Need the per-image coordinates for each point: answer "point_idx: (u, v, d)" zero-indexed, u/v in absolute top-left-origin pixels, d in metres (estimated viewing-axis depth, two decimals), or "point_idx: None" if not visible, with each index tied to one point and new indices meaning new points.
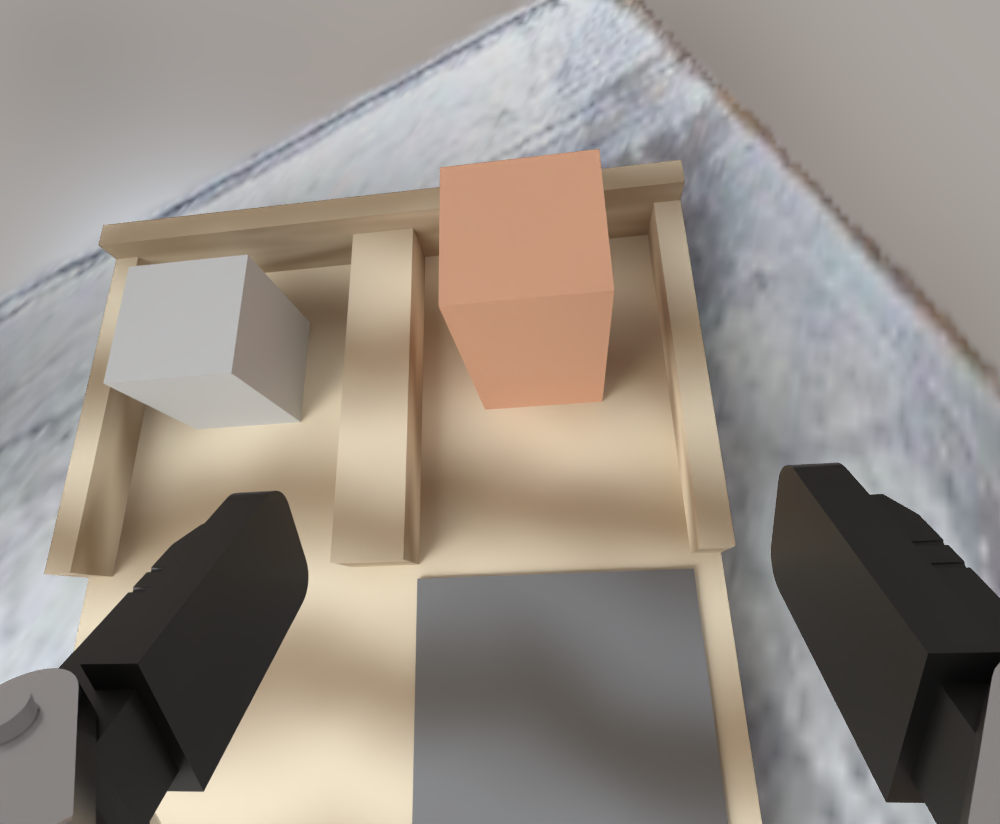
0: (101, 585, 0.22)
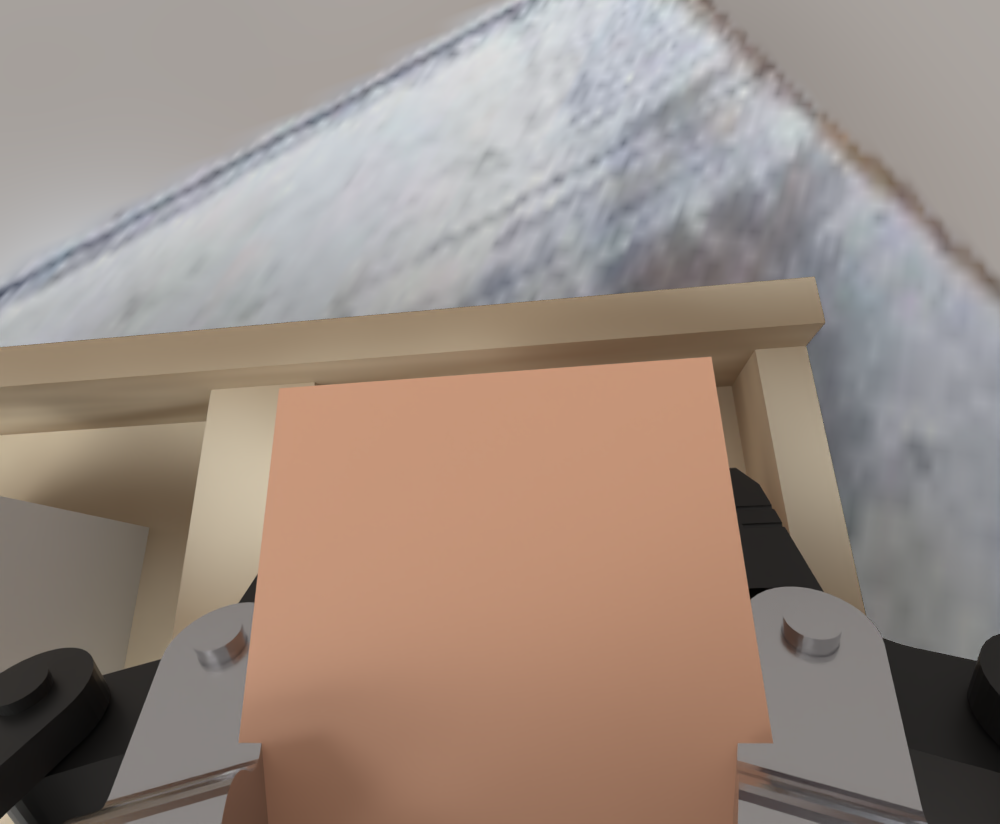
0: None
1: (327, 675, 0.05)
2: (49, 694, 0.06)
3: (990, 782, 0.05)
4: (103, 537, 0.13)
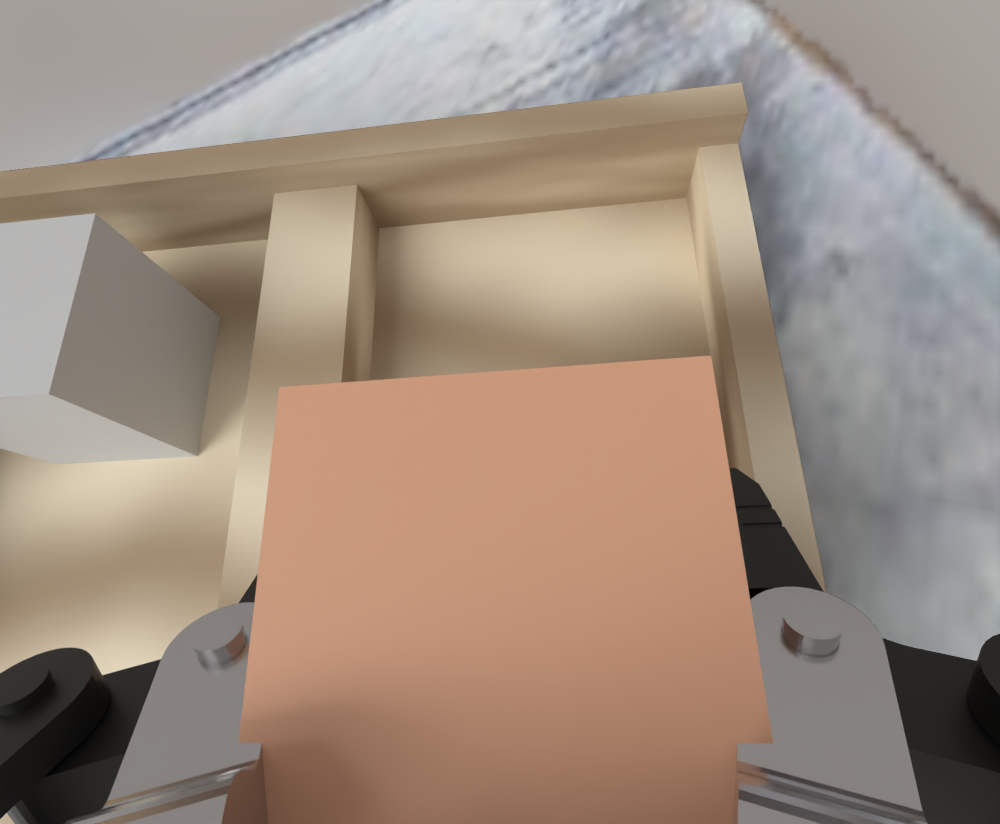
0: None
1: (327, 673, 0.05)
2: (49, 694, 0.06)
3: (990, 782, 0.05)
4: (190, 307, 0.17)
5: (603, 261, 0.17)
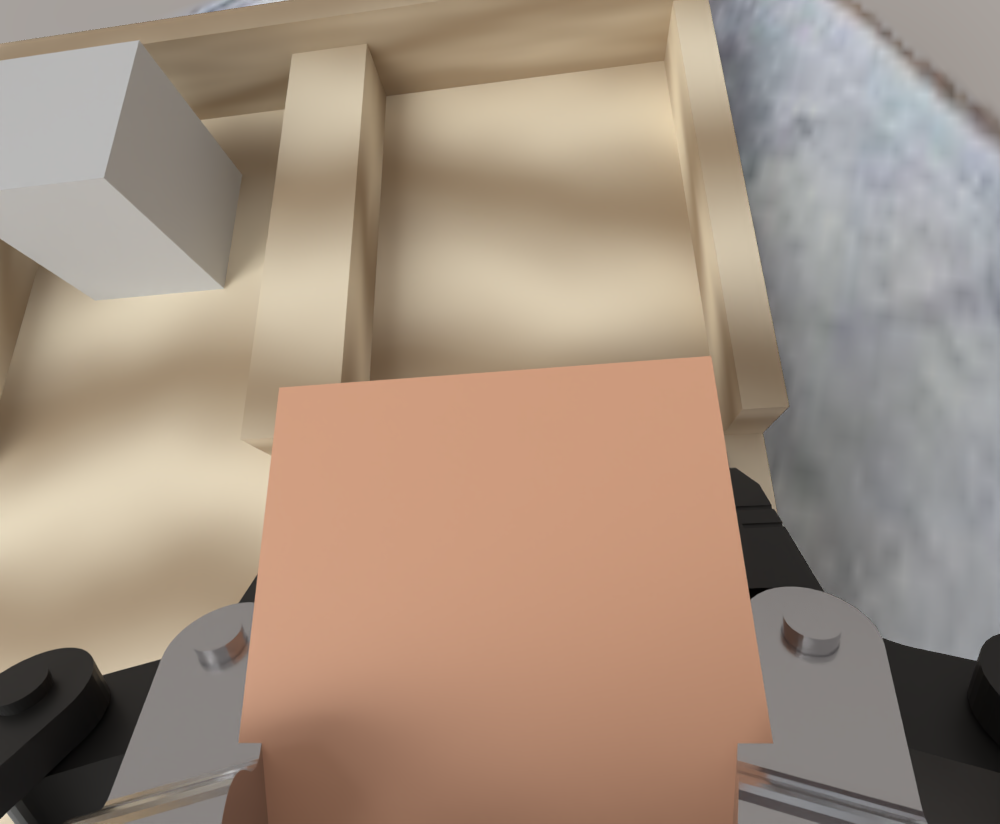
0: None
1: (327, 674, 0.05)
2: (49, 695, 0.06)
3: (990, 782, 0.05)
4: (216, 154, 0.19)
5: (589, 115, 0.19)
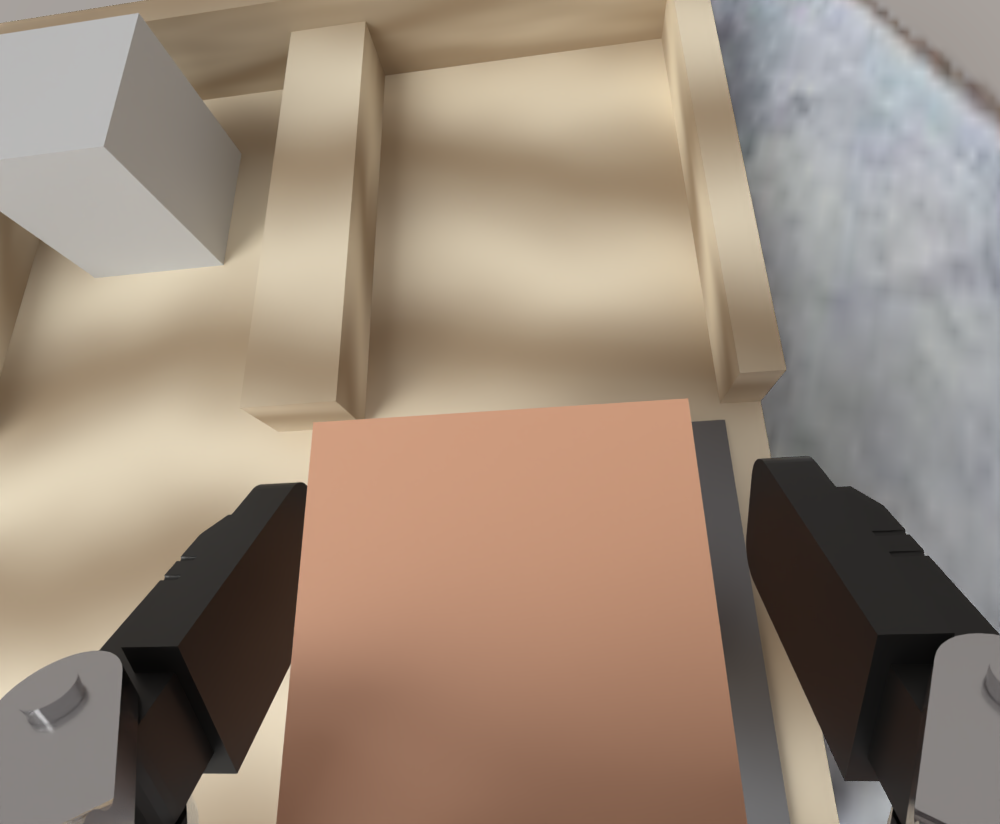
0: None
1: (359, 672, 0.06)
2: None
3: None
4: (216, 132, 0.19)
5: (587, 92, 0.19)
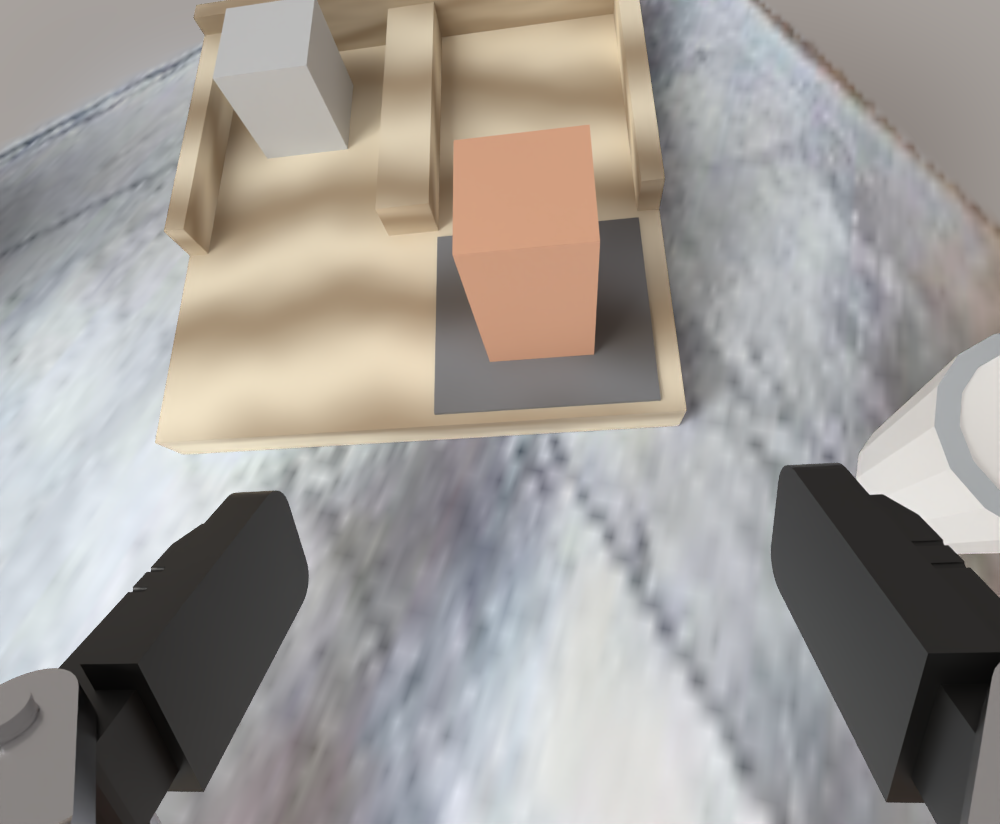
0: (199, 259, 0.30)
1: (476, 207, 0.18)
2: None
3: None
4: (343, 69, 0.31)
5: (567, 46, 0.31)
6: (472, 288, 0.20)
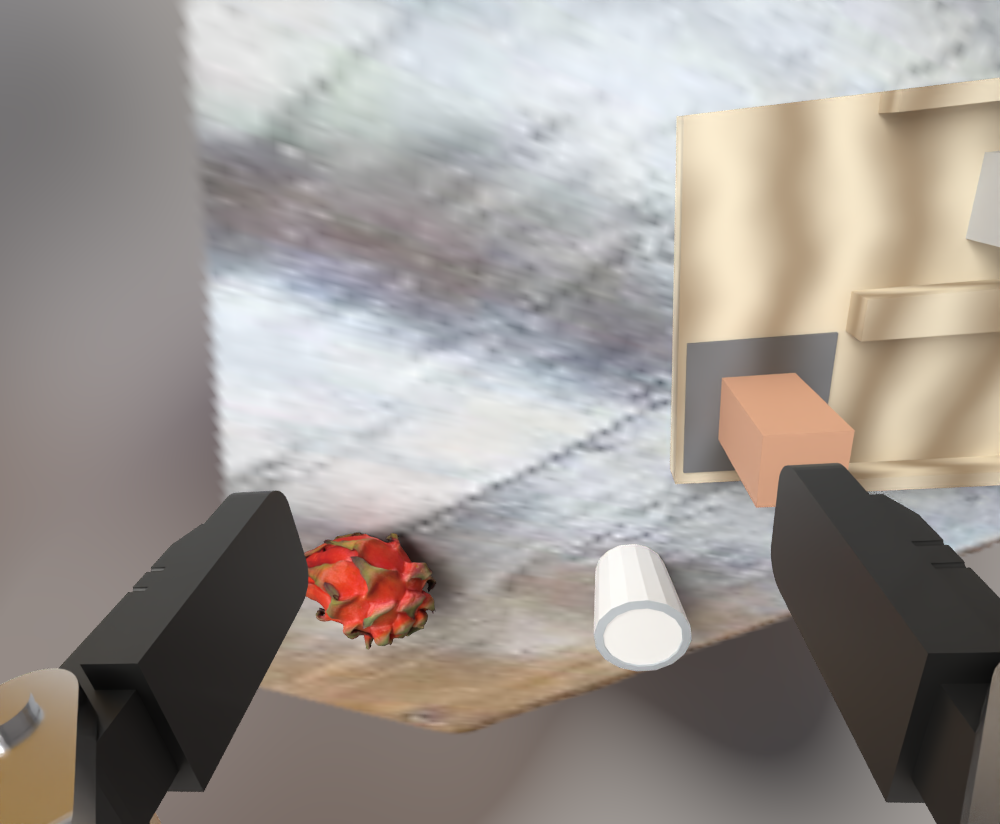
0: (873, 105, 0.31)
1: (795, 446, 0.30)
2: None
3: None
4: None
5: None
6: (750, 423, 0.32)
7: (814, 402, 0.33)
